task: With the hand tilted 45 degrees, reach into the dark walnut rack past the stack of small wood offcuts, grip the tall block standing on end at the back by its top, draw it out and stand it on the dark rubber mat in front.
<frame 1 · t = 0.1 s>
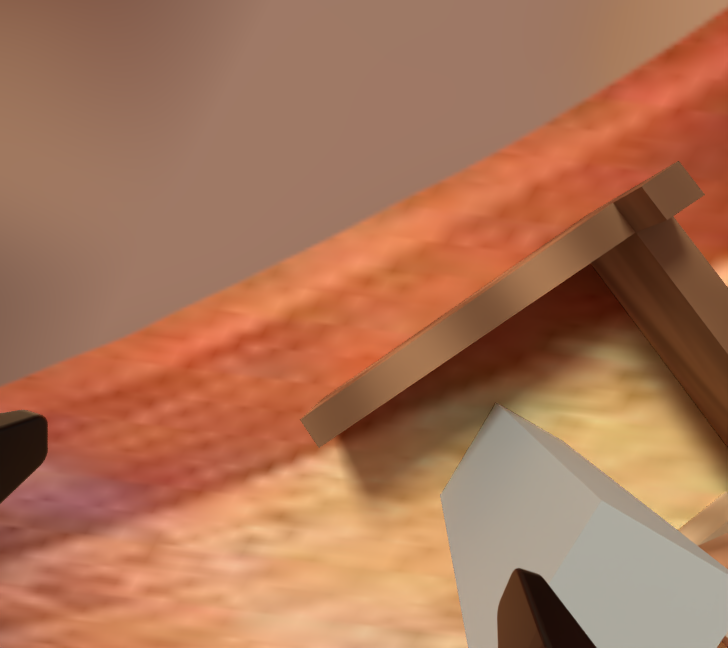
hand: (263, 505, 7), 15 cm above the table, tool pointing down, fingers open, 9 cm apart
block: (500, 468, 22), on the table
offcut birch: (714, 553, 21), on the table, touching offcut cherry
rack: (605, 514, 21), on the table
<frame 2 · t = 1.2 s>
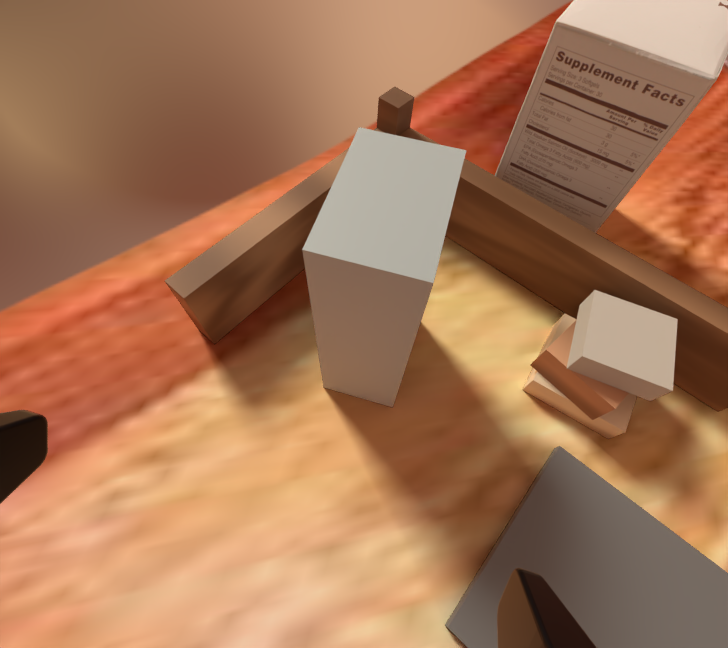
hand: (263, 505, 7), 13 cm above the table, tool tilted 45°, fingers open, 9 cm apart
supplement box: (541, 211, 30), on the table
offcut cherry: (587, 363, 22), point 1 cm above the table, touching offcut birch, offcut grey
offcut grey: (612, 350, 20), point 3 cm above the table, touching offcut cherry
block: (372, 350, 24), on the table
offcut birch: (574, 381, 24), on the table, touching offcut cherry
rack: (470, 365, 23), on the table
mat: (601, 610, 18), on the table
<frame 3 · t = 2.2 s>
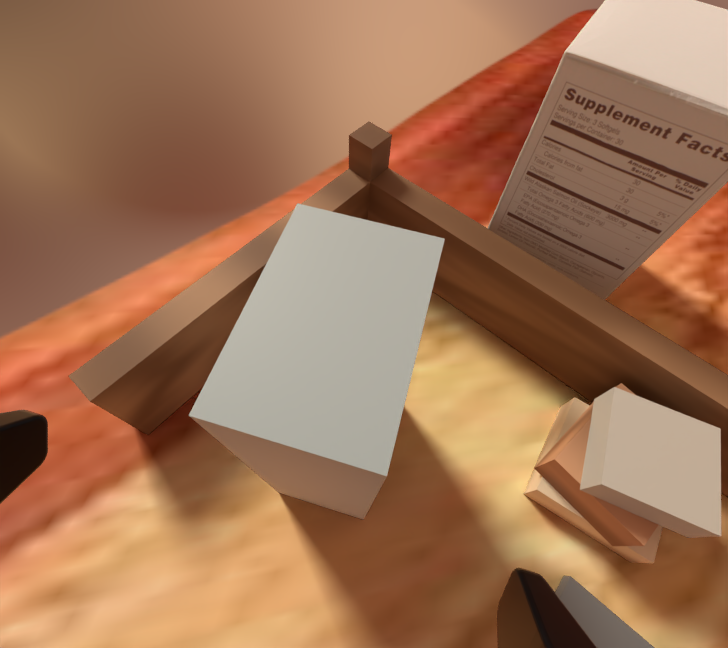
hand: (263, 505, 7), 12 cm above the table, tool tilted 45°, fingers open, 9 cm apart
supplement box: (543, 259, 26), on the table
offcut cherry: (603, 465, 18), point 1 cm above the table, touching offcut birch, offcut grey
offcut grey: (637, 463, 16), point 3 cm above the table, touching offcut cherry
block: (340, 441, 20), on the table
offcut birch: (586, 479, 20), on the table, touching offcut cherry
rack: (460, 460, 19), on the table
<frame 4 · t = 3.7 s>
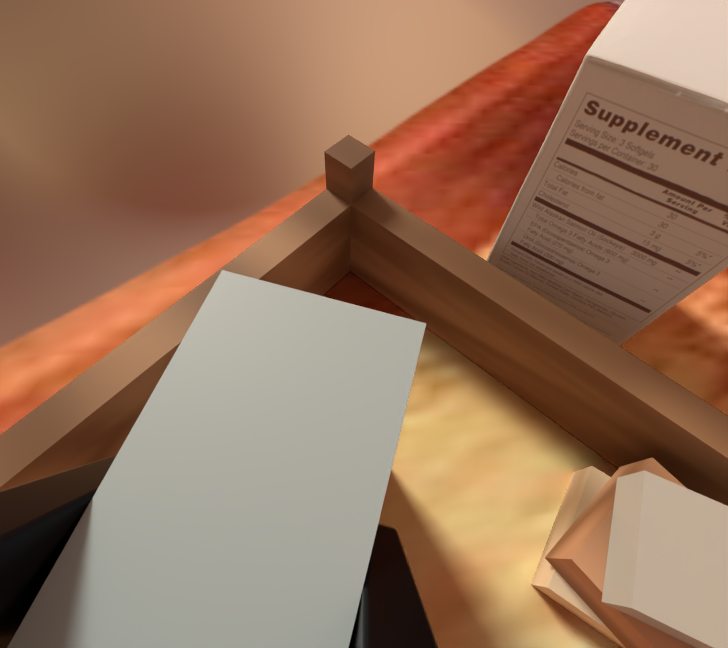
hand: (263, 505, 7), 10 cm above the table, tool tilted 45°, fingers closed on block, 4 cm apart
supplement box: (551, 286, 23), on the table
offcut cherry: (629, 555, 15), point 1 cm above the table, touching offcut birch, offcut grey
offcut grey: (672, 564, 13), point 3 cm above the table, touching offcut cherry
block: (315, 513, 17), on the table, touching gripper
offcut birch: (606, 562, 17), on the table, touching offcut cherry
rack: (455, 537, 16), on the table
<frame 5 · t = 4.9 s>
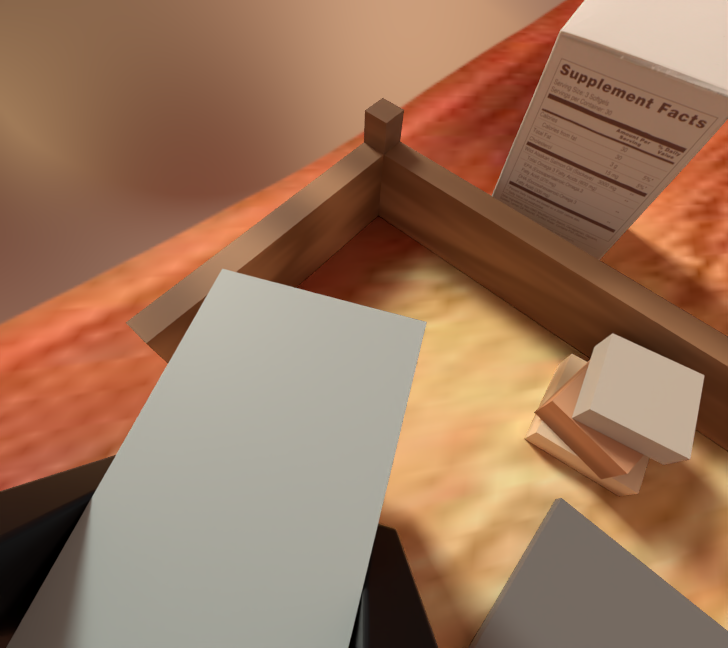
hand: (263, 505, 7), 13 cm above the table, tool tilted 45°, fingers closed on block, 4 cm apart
supplement box: (543, 228, 28), on the table
offcut cherry: (597, 412, 20), point 1 cm above the table, touching offcut birch, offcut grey
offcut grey: (626, 401, 18), point 4 cm above the table, touching offcut cherry
block: (315, 512, 17), point 3 cm above the table, touching gripper
offcut birch: (582, 427, 22), on the table, touching offcut cherry
rack: (465, 403, 22), on the table
when the fingers open (12 cm above the table, at t = 6.6 s): block stays where it is, resting on mat.
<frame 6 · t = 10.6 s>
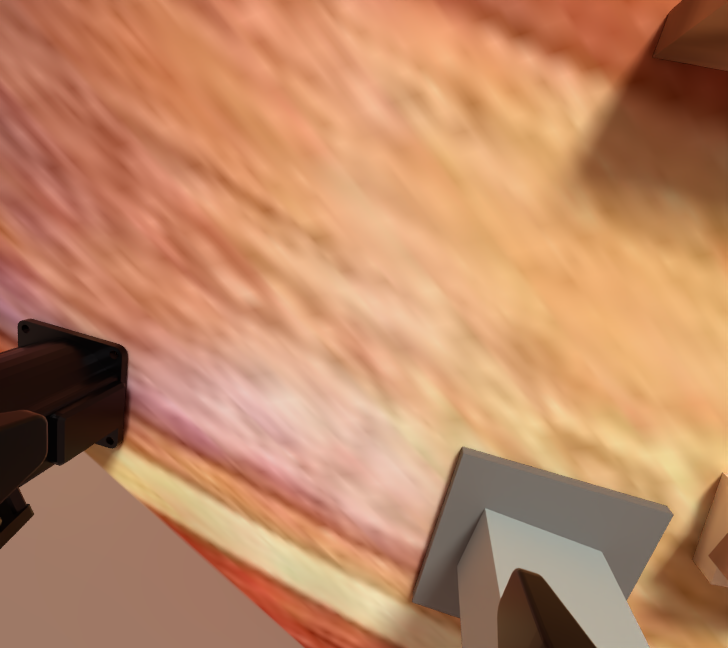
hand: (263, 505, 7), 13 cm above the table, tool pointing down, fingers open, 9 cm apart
block: (526, 559, 21), point 1 cm above the table, touching mat
mat: (528, 553, 21), on the table
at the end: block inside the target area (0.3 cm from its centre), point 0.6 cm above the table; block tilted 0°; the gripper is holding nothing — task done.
